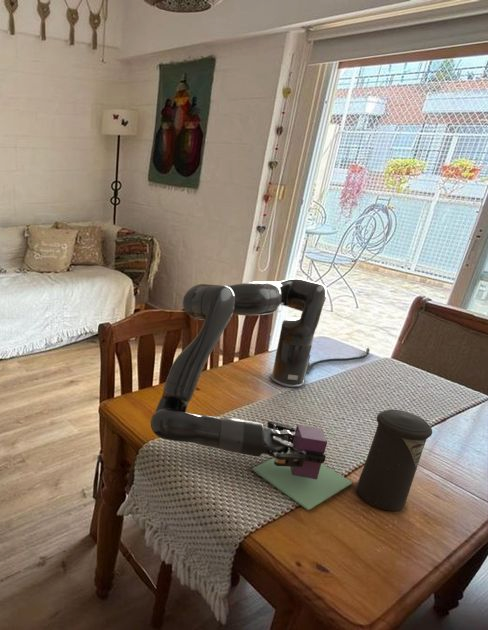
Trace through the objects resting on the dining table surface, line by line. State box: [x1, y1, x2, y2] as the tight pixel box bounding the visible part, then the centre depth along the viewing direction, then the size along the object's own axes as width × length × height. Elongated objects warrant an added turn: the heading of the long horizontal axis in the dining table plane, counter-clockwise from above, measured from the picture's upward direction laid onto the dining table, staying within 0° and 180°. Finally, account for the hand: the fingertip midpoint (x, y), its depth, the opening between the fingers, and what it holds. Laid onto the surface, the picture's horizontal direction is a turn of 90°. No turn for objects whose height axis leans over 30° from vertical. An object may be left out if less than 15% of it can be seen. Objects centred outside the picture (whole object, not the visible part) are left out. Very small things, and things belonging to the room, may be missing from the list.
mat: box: [251, 449, 353, 511], centre depth 99 cm, size 16×14×1 cm
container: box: [356, 409, 433, 512], centre depth 90 cm, size 9×9×20 cm
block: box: [290, 424, 328, 480], centre depth 97 cm, size 5×5×10 cm
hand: (320, 450), depth 96 cm, fingers closed on block, 5 cm apart
